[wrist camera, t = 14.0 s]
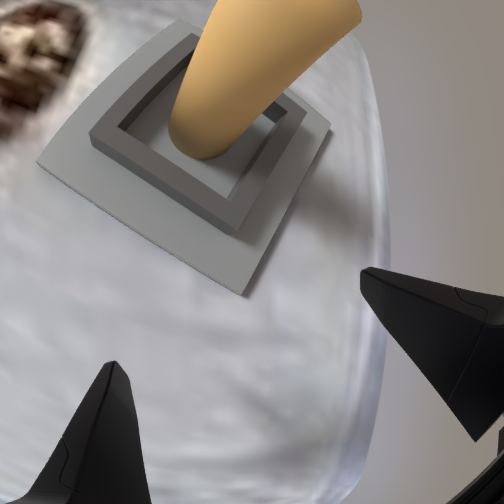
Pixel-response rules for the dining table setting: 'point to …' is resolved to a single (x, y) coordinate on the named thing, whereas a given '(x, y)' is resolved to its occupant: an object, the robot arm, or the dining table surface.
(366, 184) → the dining table surface
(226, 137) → the rounded tan peg
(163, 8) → the dining table surface
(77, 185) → the socket
